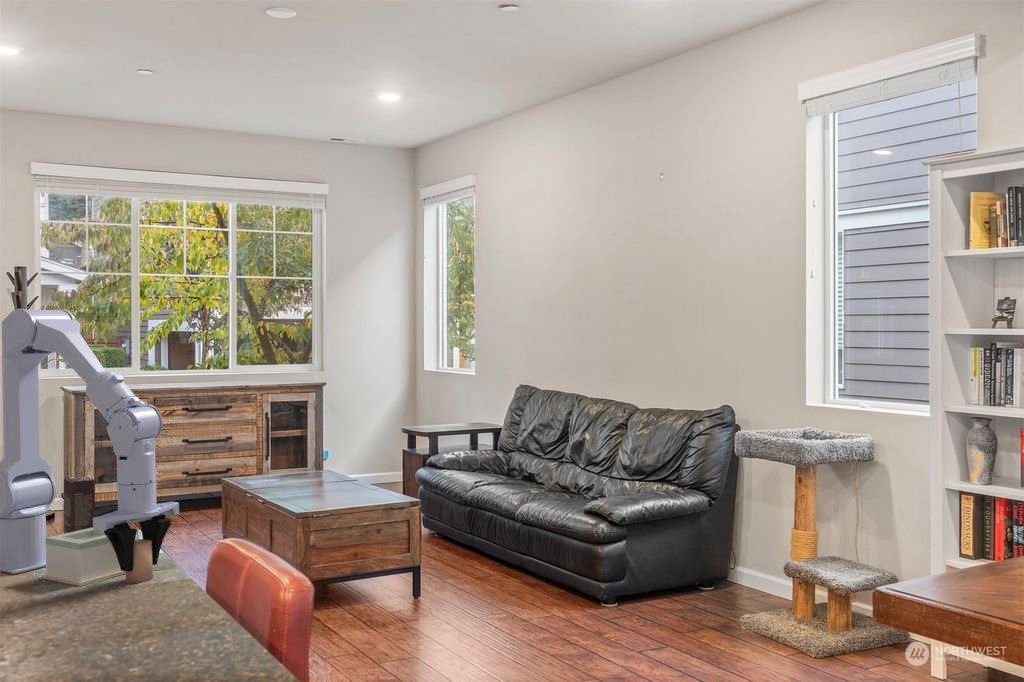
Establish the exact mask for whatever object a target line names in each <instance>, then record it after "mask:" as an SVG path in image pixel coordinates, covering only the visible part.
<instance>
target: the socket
mask: <svg viewBox="0 0 1024 682" xmlns="http://www.w3.org/2000/svg"><path fill="white" fill-rule="evenodd" d="M45 540H46V566H45V567H46V568H45V569H46V570H45V571H46V573H44V574H41V579H44V580H49V581H54V582H59V583H64V584H67V585H73V586H77V587H81V586H85V585H89V584H93V583H96V582H100V581H104V580H107V579H111V578H116V577H119V576H123V575H126V571H121V569H120V565H119V562H118V559H117V556H116V553H115V550H114V548H113V546H112V544H111V542H110V541H109V539H108V537H107V536H106V535H105V533H104V531H96V530H93V528H88V529H84V530H79V531H74V532H70V533H65V534H64V533H62V534H57V535H51V536H46V538H45Z"/></svg>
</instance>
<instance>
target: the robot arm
mask: <svg viewBox="0 0 1024 682" xmlns="http://www.w3.org/2000/svg"><path fill="white" fill-rule="evenodd" d="M81 327H82V326H81V323H80V322H79V321H78V320H77V319H76V318H75V316H74V315H73V313H72V312H71V311H69V310H68V309H65V308H64V309H63V308H59V309H25V308H15V309H13V310H12V311H11V312H9V314H8V315H7V316H6V317H5V318H4V319H3V320H2V321H1V346H2V348H1V350H2V351H1V352H2V353H1V370H2V373H1V376H2V377H1V379H2V383H1V384H2V422H3V423H2V425H3V426H2V427H3V430H2V432H3V435H2V436H3V458H2V459H1V460H0V572H5V573H7V574H8V573H9V574H15V575H16V574H19V573H24V572H28V571H32V570H36V569H39V568H43V567H46V540H45V538H47V517H46V516H47V515H46V512H48V511H50V506H51V505H52V503H54V501H55V498H56V497H57V484H56V480H55V479H54V475H53V467H52V466H53V465H52V464H51V463H49V462H48V461H47V460H45V458H43V457H42V456H41V453H40V451H41V449H40V446H41V445H40V443H41V442H40V397H39V396H40V394H39V391H40V390H39V383H40V382H39V365H40V364H41V362H43V361H44V360H45V359H46V357H47V358H48V356H49V355H51V354H53V353H56V354H57V355H58V356H60V357H61V359H63V361H65V363H67V364H68V366H70V368H71V369H72V370H73V371H74V372H75V373H76V374H77V376H79V377H80V378H81V379H82V380H83V381H84V382H85V383H86V387H85V396H87V398H88V399H89V400H90V401H91V403H92V404H93V405H94V407H95V408H96V409H97V410H98V412H99V413H100V414H101V415H102V417H103V418H104V419H105V420H106V421H107V423H108V425H107V426H106V433H107V435H108V437H109V440H110V441H111V443H112V448H113V453H114V455H115V456H116V477H117V478H116V479H117V480H116V482H117V484H116V485H117V486H116V488H117V510H114V511H112V512H110V513H109V512H108V513H105V514H103V515H99V516H95V517H94V518H93V530H96V531H104V533H105V535H106V536H107V537H108V539H109V541H110V542H111V544H112V546H113V548H114V550H115V553H116V556H117V559H118V562H119V565H120V569H121V571H126V572H130V571H133V549H134V542H135V540H136V536H137V532H138V529H136V528H131V524H132V525H133V524H136V523H138V524H139V528H140V531H141V535H142V539H150V540H152V566H154V565H157V564H158V559H159V557H160V551H161V549H162V545H163V542H164V540H165V537H166V534H167V532H168V531H169V529H170V527H171V525H172V519H171V518H169V517H168V518H167V517H166V516H171V515H172V516H176V515H179V514H180V503H179V502H177V501H167V502H161V503H160V502H159V503H157V477H156V475H157V473H156V470H157V469H156V439H158V438H159V436H160V435H161V434H162V430H163V422H164V421H163V419H162V415H161V413H160V412H159V410H158V408H157V407H156V406H155V405H152V404H146V403H145V402H144V401H141V400H140V399H139V397H138V396H136V395H135V393H134V392H133V391H132V390H131V388H129V386H128V385H127V384H126V383H125V378H124V377H123V376H122V374H119V373H117V372H115V371H107V370H106V369H105V368H104V366H103V365H102V364H101V362H100V361H99V359H98V358H97V356H96V355H95V353H94V352H93V351H92V349H91V348H90V347H89V345H88V343H87V342H86V340H85V339H84V337H83V335H81Z"/></svg>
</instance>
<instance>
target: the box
mask: <svg viewBox="0 0 1024 682" xmlns="http://www.w3.org/2000/svg"><path fill="white" fill-rule="evenodd" d="M94 517H96V480H95V479H94V478H91V477H88V476H77V477H76V476H75V477H74V476H73V477H65V478H64V479H63V534H65V533H70V532H74V531H79V530H84V529H88V528H93V518H94Z"/></svg>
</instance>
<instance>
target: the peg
mask: <svg viewBox="0 0 1024 682" xmlns="http://www.w3.org/2000/svg"><path fill="white" fill-rule="evenodd" d="M153 567H154V565H152V540H150V539H143V538H140V539H139V538H138V539H135V542H134V549H133V571H130V572H126V574H125V582H127V583H128V584H132V583H133V584H137V583H138V584H139V583H145V582H149V581H151V580H153V578H154V574H153Z"/></svg>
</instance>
